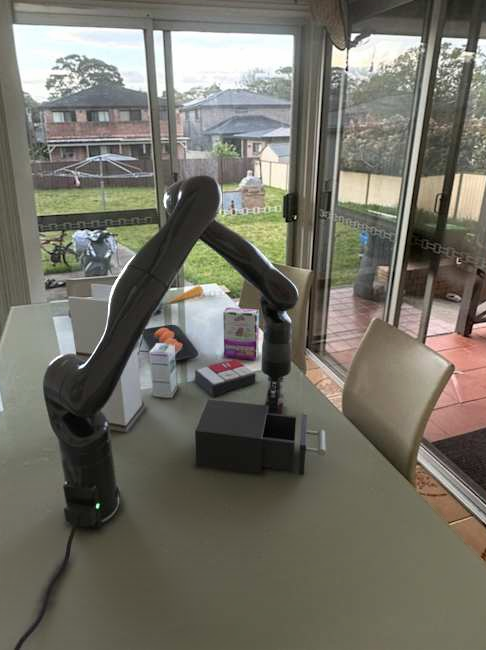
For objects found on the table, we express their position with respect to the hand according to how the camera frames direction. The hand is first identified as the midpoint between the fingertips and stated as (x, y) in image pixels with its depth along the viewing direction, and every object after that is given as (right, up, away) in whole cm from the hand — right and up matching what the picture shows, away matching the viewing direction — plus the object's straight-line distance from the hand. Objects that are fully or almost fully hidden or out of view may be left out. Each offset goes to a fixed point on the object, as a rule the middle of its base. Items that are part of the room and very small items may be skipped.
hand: (274, 411), depth 118 cm
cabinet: (-11, -6, -15) cm, 20 cm away
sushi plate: (-40, +13, +36) cm, 55 cm away
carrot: (-31, +32, +85) cm, 96 cm away
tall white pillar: (-42, -1, -1) cm, 42 cm away
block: (0, 0, 0) cm, 0 cm away
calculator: (-13, +5, +15) cm, 21 cm away
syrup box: (-31, +3, +10) cm, 32 cm away
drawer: (0, -6, -17) cm, 18 cm away
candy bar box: (-8, +12, +31) cm, 34 cm away
